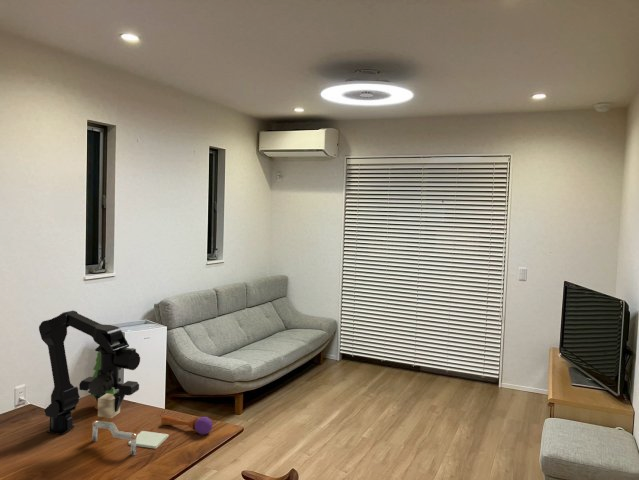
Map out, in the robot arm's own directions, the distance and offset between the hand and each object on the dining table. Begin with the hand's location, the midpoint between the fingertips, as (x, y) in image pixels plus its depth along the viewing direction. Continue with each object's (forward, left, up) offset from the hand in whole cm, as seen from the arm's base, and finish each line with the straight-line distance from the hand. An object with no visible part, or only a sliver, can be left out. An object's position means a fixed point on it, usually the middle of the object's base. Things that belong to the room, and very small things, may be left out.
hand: (109, 410), depth 170 cm
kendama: (+20, +17, -12) cm, 29 cm away
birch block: (0, 0, -1) cm, 1 cm away
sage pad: (+12, +5, -11) cm, 17 cm away
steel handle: (+3, -2, -11) cm, 12 cm away
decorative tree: (-19, +26, -11) cm, 34 cm away
